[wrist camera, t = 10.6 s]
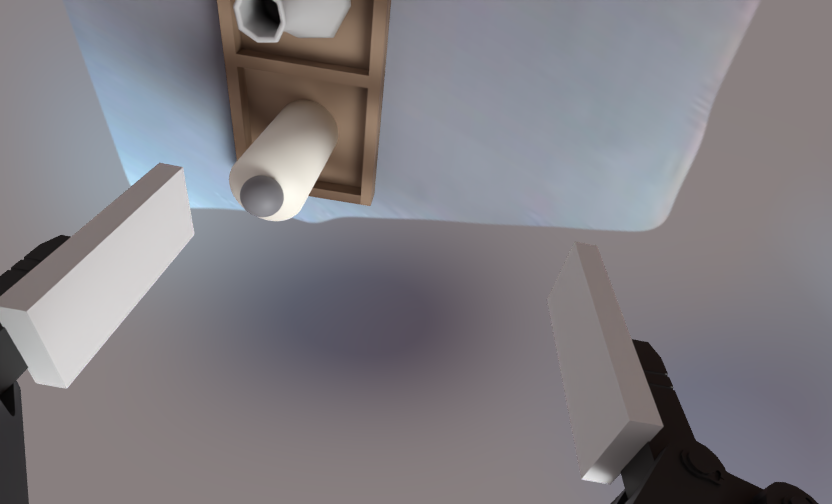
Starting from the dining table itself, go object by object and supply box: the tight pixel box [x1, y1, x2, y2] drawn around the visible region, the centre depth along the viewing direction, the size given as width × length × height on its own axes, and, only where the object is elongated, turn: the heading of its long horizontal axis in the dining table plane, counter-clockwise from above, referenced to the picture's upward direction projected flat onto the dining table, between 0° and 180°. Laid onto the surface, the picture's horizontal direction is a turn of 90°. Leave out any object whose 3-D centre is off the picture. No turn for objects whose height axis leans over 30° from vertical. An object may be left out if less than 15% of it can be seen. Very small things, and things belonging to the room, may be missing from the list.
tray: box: [217, 0, 391, 206], centre depth 38 cm, size 24×13×2 cm, turn 172°
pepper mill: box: [229, 100, 338, 221], centre depth 37 cm, size 6×6×14 cm
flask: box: [233, 0, 351, 43], centre depth 31 cm, size 7×7×10 cm
